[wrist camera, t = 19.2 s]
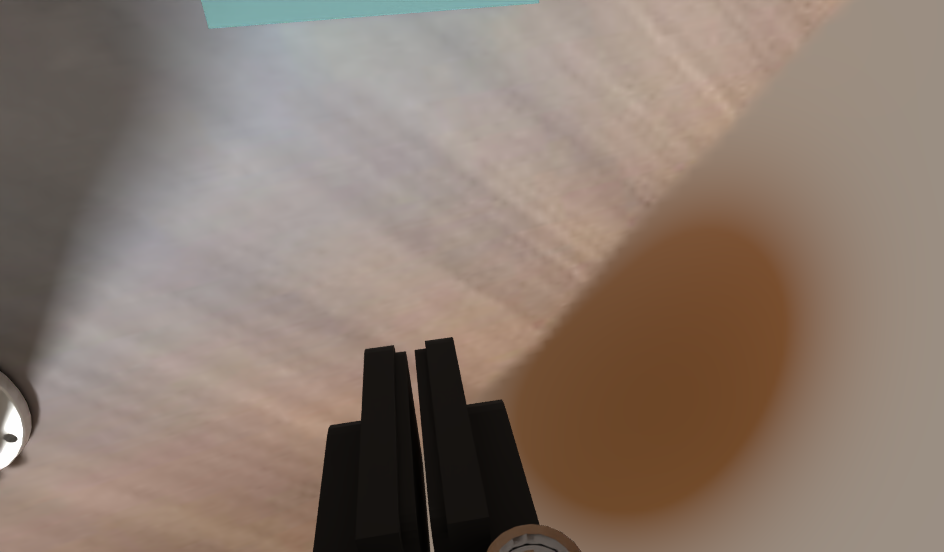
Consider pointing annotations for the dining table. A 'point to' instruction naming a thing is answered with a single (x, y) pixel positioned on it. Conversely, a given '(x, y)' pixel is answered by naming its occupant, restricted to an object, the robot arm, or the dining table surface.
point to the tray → (327, 9)
